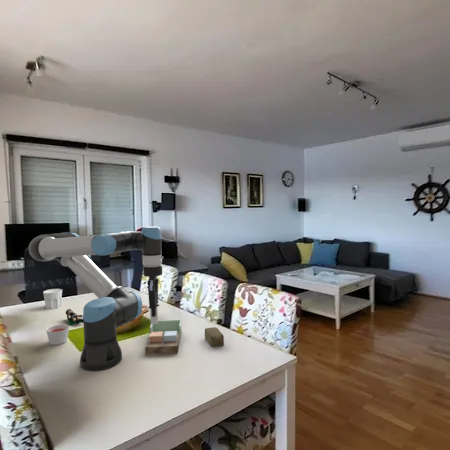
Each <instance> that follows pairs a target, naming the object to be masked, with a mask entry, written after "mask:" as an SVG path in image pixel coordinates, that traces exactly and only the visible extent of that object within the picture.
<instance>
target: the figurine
mask: <svg viewBox="0 0 450 450" xmlns="http://www.w3.org/2000/svg"><path fill="white" fill-rule="evenodd" d="M65 316H66V319H67V322H68V325H69V327H70V326H75V325H79V324H83V314H78V313H76V312H74V311H73V309H71V308H68V309H66V310H65Z"/></svg>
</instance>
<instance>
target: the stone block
mask: <svg viewBox="0 0 450 450" xmlns="http://www.w3.org/2000/svg"><path fill="white" fill-rule="evenodd" d="M204 338H205V340H206V341H207V343H208V344H209V345H210V347H215V348H216V347H222V346H224V345H225V342H224V341H225V339H224V338H225V337H224V334H223V333H222V332H221V330H220V329H219V328H218V327H216V326H213V327H206V328H204Z"/></svg>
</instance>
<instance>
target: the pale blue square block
mask: <svg viewBox="0 0 450 450" xmlns="http://www.w3.org/2000/svg"><path fill="white" fill-rule="evenodd" d="M176 340H177V331H165V334H164V341H176Z"/></svg>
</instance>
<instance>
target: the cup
mask: <svg viewBox="0 0 450 450" xmlns="http://www.w3.org/2000/svg"><path fill="white" fill-rule="evenodd" d="M42 294H43V298H44V304H45V305H44V307H45V309H46V310H55V309H58V308H60V307H61V308H62V298H63V297H62V296H63V288H62V289H61V288H51V289H46V290H44V291H43V292H42Z"/></svg>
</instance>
